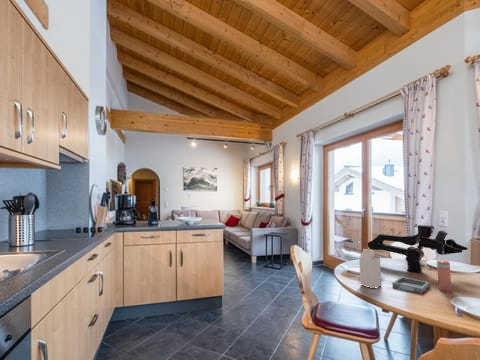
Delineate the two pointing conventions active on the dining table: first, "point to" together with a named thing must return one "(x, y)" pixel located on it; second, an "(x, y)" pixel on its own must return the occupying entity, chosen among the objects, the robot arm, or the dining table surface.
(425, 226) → the robot arm
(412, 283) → the parts tray
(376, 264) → the milk carton
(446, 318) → the dining table surface
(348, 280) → the dining table surface
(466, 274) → the dining table surface
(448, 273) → the cartridge
